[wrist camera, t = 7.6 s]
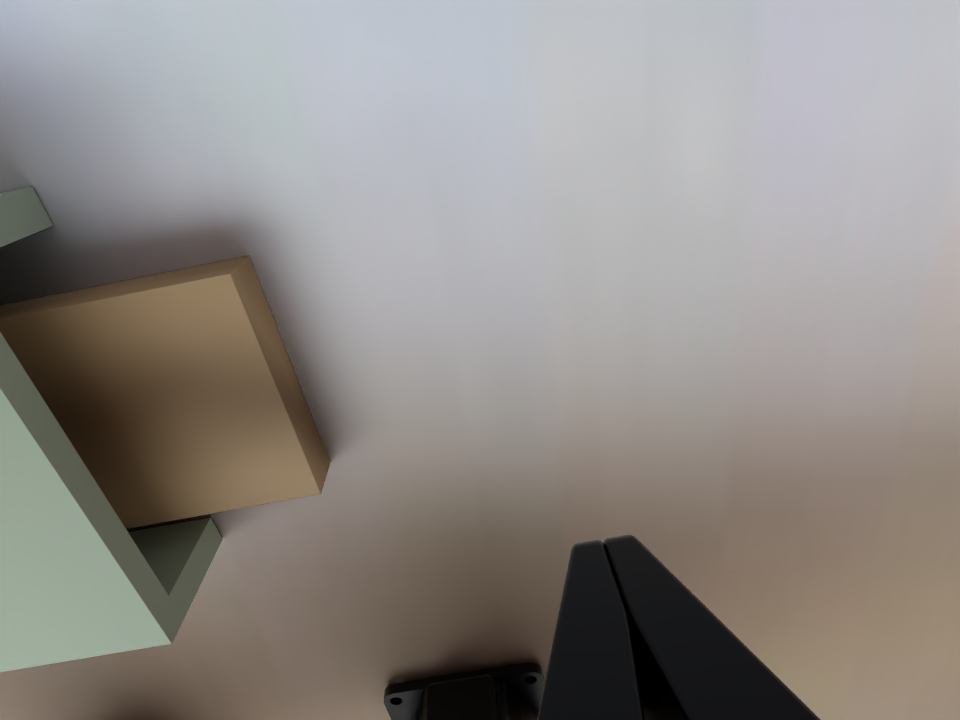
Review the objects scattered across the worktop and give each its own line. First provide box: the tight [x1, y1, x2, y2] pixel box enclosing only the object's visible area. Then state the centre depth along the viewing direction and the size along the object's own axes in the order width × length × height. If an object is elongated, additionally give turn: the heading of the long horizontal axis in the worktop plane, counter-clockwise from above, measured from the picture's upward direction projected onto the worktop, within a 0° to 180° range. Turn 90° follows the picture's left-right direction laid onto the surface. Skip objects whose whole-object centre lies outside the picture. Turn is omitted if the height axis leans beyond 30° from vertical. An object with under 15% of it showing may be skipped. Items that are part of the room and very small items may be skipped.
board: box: [0, 256, 330, 529], centre depth 17 cm, size 7×10×2 cm
